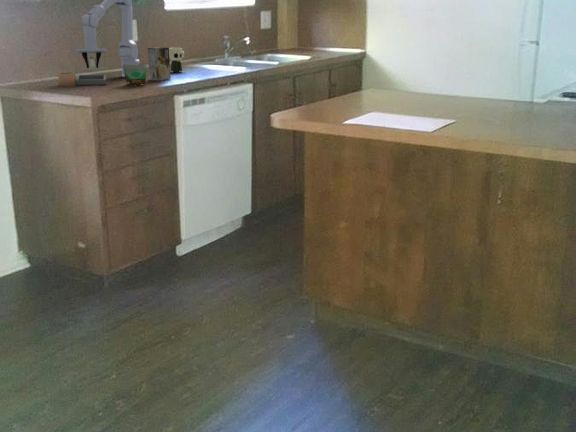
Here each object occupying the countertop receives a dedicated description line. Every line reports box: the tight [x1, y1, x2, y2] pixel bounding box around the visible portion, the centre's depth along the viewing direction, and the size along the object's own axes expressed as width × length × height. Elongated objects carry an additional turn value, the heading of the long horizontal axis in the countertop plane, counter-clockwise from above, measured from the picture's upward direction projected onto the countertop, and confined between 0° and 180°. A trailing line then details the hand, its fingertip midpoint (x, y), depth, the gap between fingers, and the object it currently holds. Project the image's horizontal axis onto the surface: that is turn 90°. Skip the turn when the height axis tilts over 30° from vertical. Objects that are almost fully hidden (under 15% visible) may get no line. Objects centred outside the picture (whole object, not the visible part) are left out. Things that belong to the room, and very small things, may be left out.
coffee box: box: [147, 46, 171, 81], centre depth 375 cm, size 9×6×16 cm
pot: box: [57, 71, 77, 87], centre depth 353 cm, size 8×8×6 cm
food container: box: [121, 63, 149, 86], centre depth 355 cm, size 12×6×10 cm, turn 118°
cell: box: [88, 56, 98, 72], centre depth 364 cm, size 4×4×7 cm
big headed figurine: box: [168, 47, 185, 73], centre depth 406 cm, size 11×7×13 cm, turn 129°
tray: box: [76, 74, 107, 86], centre depth 365 cm, size 14×20×2 cm
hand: (92, 67), depth 365 cm, fingers closed on cell, 4 cm apart
